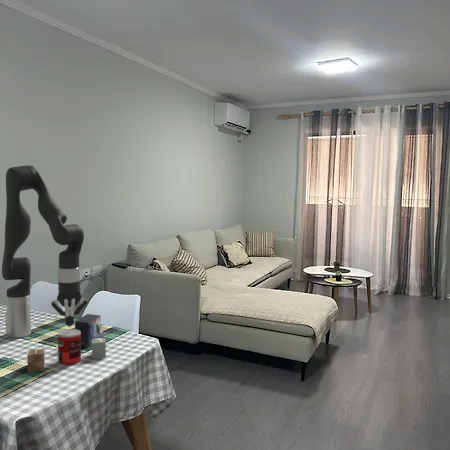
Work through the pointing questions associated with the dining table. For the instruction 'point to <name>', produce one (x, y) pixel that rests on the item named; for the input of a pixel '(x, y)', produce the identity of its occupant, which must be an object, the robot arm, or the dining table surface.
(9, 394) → the dining table surface
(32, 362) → the walnut digit block
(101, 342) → the slate digit block
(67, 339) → the canned food
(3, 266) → the robot arm
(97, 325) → the small box
